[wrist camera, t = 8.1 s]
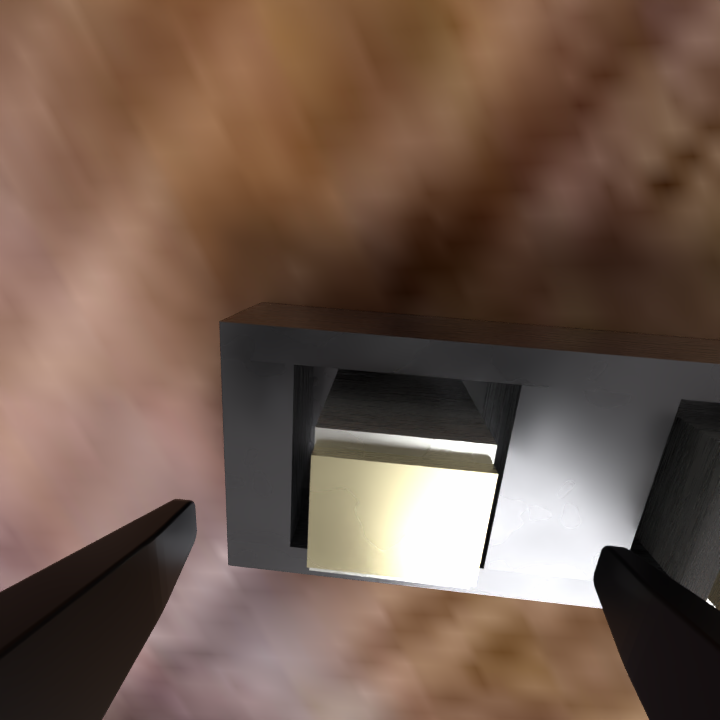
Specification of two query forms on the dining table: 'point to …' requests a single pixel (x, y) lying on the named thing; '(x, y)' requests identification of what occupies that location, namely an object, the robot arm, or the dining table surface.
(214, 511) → the dining table surface
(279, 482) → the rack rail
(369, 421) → the cream two-tone block
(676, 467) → the beige block
